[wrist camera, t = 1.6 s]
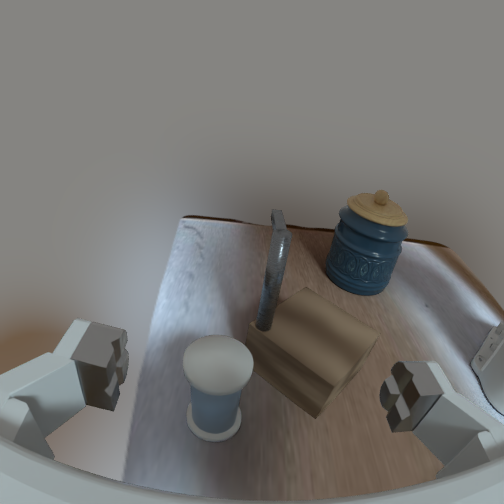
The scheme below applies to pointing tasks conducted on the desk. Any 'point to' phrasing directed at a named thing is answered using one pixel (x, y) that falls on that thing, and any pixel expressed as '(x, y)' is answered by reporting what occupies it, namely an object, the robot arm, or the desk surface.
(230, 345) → the cord spool
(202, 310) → the desk surface
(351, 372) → the walnut shelf block
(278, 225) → the hook post
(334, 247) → the canister
